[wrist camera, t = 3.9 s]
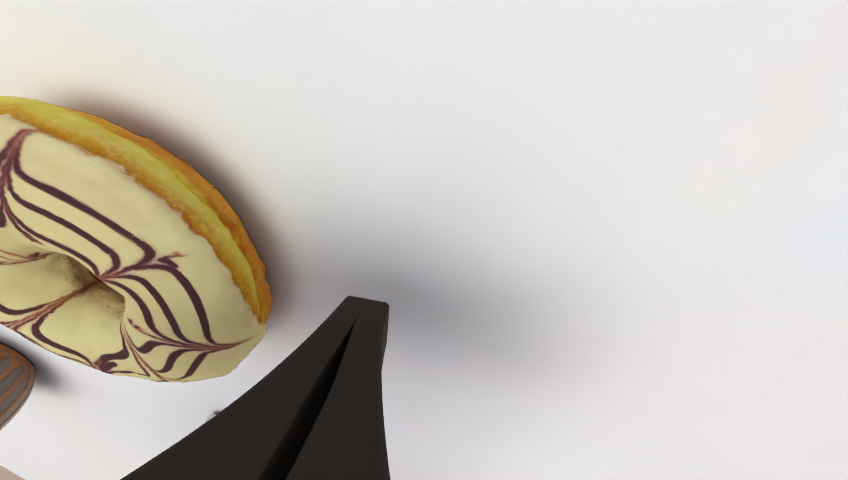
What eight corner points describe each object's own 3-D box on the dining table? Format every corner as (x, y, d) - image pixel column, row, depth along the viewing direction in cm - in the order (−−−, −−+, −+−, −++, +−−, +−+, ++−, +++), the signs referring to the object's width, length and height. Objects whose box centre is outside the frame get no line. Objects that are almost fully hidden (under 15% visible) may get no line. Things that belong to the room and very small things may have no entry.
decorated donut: (177, 344, 16) (106, 416, 13) (-38, 162, 11) (-232, 207, 8) (334, 308, 13) (289, 392, 10) (123, 28, 8) (-101, 16, 5)
